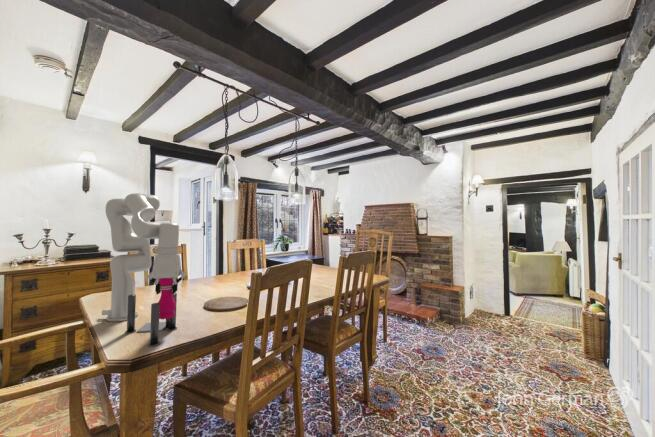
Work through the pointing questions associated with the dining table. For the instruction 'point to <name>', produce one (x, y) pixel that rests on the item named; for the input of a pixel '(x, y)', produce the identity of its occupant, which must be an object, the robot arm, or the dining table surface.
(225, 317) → the dining table surface
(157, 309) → the gate course
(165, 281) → the pepper mill
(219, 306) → the trivet
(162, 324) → the slate coaster
